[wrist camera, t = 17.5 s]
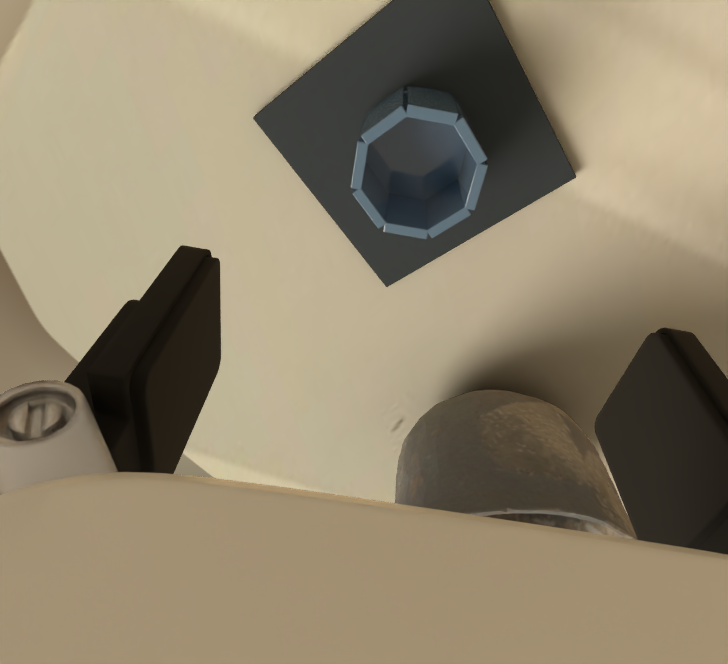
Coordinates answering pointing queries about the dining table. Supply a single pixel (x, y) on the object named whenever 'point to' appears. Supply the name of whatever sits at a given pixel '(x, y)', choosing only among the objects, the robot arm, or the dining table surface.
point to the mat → (430, 70)
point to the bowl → (509, 465)
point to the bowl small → (418, 163)
